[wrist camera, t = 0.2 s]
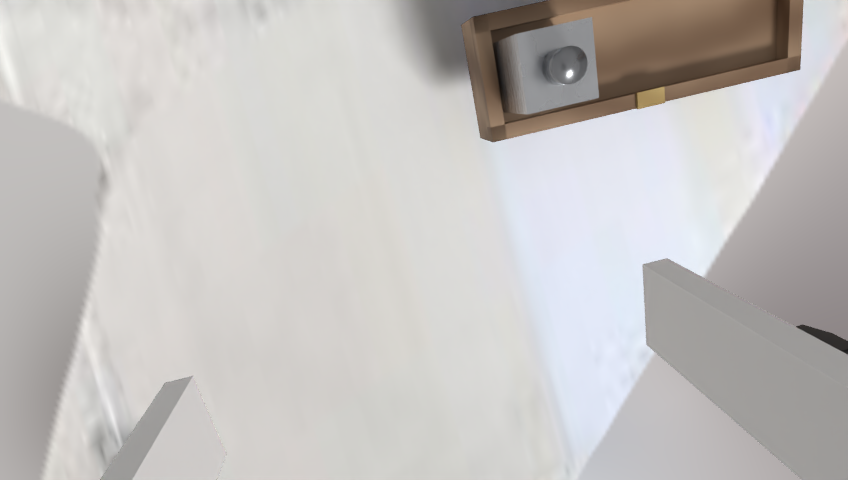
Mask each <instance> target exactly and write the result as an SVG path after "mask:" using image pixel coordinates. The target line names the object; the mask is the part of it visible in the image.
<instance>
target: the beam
mask: <svg viewBox="0 0 848 480" xmlns="http://www.w3.org/2000/svg"><path fill="white" fill-rule="evenodd" d="M590 17H592V22H593V33H594V45H595V56H596V68H597V79H598V90H599V98H596V99H592V100H588V101H584V102H579V103H575V104H571V105H566V106H562V107H558V108H554V109H549V110H545V111H541V112H536V113H532V114H528V115H527V114H517V113H507V112H503V109H502V103H501V96H500V90H499V83H498V77H497V70H496V63H495V57H494V50H493V44H492V43H495V42H497V41H500V40H502V39H505V38H507V37H510V36H512V35H515V34H518V33H522V32H527V31H531V30H536V29H540V28H545V27H549V26H554V25H558V24H563V23H567V22H572V21H576V20H581V19H585V18H590ZM802 19H803V0H548V1H543V2H539V3H534V4H530V5H525V6H520V7H516V8H511V9H507V10H502V11H498V12H493V13H488V14H484V15H479V16H475V17H472V18H470V19H469V20H468V21H466V22H465V23H463V24H462V25H461V27H462V33H463V39H464V44H465V50H466V56H467V62H468V68H469V74H470V79H471V85H472V91H473V97H474V103H475V109H476V114H477V120H478V126H479V132H480V138H482V139H485V140H488V141H491V142H496V141H500V140H505V139H509V138H513V137H517V136H522V135H526V134H530V133H534V132H538V131H543V130H547V129H551V128H555V127H560V126H564V125H568V124H572V123H576V122H581V121H585V120H589V119H593V118H598V117H602V116H606V115H610V114H615V113H619V112H623V111H627V110H631V109H636V108H637V109H641V108H645V107H649V106H653V105H658V104H662V103H665V101H670V100H674V99H678V98H682V97H686V96H691V95H695V94H699V93H703V92H708V91H712V90H716V89H720V88H725V87H729V86H733V85H737V84H741V83H746V82H750V81H754V80H758V79H763V78H767V77H771V76H775V75H780V74H784V73H788V72H792V71H796V70H800V62H801V41H802Z"/></svg>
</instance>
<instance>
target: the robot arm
mask: <svg viewBox="0 0 848 480" xmlns="http://www.w3.org/2000/svg"><path fill="white" fill-rule="evenodd" d="M643 283H644V303H645V323H646V343H647V346H649V347H650V348H651V349H652V350H653V351H654V352H656V353H657V354H658V355H659V356H660V357H661V358H662V359H664V360H665V361H666V362H667V363H668V364H670V366H672V367H673V368H674V369H675V370H676V371H677V372H678V373H680V374H681V375H682V376H683V377H684V378H685V379H687V380H688V381H689V382H690V383H691V384H693V386H695V387H696V388H697V389H698V390H699V391H700V392H701V393H703V394H704V395H705V396H706V397H707V398H708V399H710V400H711V401H712V402H713V403H714V404H715V405H716V406H718V407H719V408H720V409H721V410H722V411H723V412H724V413H726V414H727V415H728V416H729V417H730V418H731V419H733V420H734V421H735V422H736V423H737V424H739V426H740V427H742V428H743V429H744V430H745V431H746V432H747V433H749V434H750V435H751V436H752V437H753V438H754V439H755V440H757V441H758V442H759V443H760V444H761V445H762V446H763V447H765V448H766V449H767V450H768V451H769V452H770V453H772V454H773V455H774V456H775V457H776V458H777V459H778V460H780V461H781V462H782V463H783V464H784V465H785V466H786V467H788V468H789V469H790V470H791V471H792V472H793V473H795V474H796V475H797V476H798V477H799V478H800V479H801V480H848V341H846V340H844V339H842V338H840V337H838V336H837V335H834V334H832V333H829V332H825V331H822V330H819V329H815V328H812V327H809V326H805V325H800V326H796V327H795V326H793V325H791V324H789V323H787V322H785V321H784V320H781V319H780V318H778V317H776V316H774V315H772V314H770V313H769V312H767V311H765V310H763V309H761V308H759V307H757V306H755V305H754V304H752V303H750V302H748V301H746V300H744V299H742V298H740V297H739V296H737V295H735V294H733V293H731V292H729V291H727V290H725V289H724V288H722V287H720V286H718V285H716V284H714V283H712V282H710V281H709V280H707V279H705V278H703V277H701V276H699V275H697V274H695V273H694V272H692V271H690V270H688V269H686V268H684V267H682V266H680V265H679V264H677V263H675V262H673V261H671V260H669V259H663V260H659V261H654V262H650V263H646V264H643ZM226 455H227V453H226V451H225V449H224V446H223V444H222V442H221V440H220V437H219V435H218V433H217V430H216V428H215V426H214V423H213V421H212V419H211V416H210V414H209V412H208V409H207V407H206V405H205V402H204V400H203V398H202V395H201V393H200V391H199V389H198V386H197V384H196V382H195V379H194V377H193V376H191V377H187V378H183V379H179V380H175V381H171V382H167V383H165V384H164V385H163V387H162V388H161V390H160V391H159V393H158V394H157V396H156V397H155V399H154V400H153V401H152V403H151V404H150V406H149V407H148V409H147V410H146V412H145V413H144V415H143V416H142V418H141V419H140V421H139V422H138V424H137V425H136V427H135V428H134V430H133V431H132V433H131V434H130V436H129V437H128V439H127V440H126V442H125V443H124V445H123V446H122V448H121V449H120V451H119V452H118V454H117V455H116V457H115V458H114V460H113V461H112V463H111V464H110V466H109V467H108V469H107V470H106V472H105V473H104V475H103V476H102V478H101V479H100V480H217V479H218V476H219V474H220V471H221V468H222V465H223V463H224V460H225V457H226Z"/></svg>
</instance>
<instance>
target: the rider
mask: <svg viewBox="0 0 848 480" xmlns="http://www.w3.org/2000/svg"><path fill="white" fill-rule="evenodd" d="M492 44H493V50H494V57H495V63H496V70H497V77H498V83H499V90H500V96H501V103H502V109H503V112H507V113H517V114H527V115H528V114H532V113H536V112H541V111H545V110H549V109H554V108H558V107H562V106H566V105H571V104H575V103H579V102H584V101H588V100H592V99H596V98H599V90H598V79H597V68H596V56H595V45H594V33H593V22H592V17H590V18H585V19H581V20H576V21H572V22H567V23H563V24H558V25H554V26H549V27H545V28H540V29H536V30H531V31H527V32H522V33H518V34H515V35H512V36H510V37H507V38H505V39H502V40H500V41H497V42H495V43H492Z"/></svg>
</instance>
